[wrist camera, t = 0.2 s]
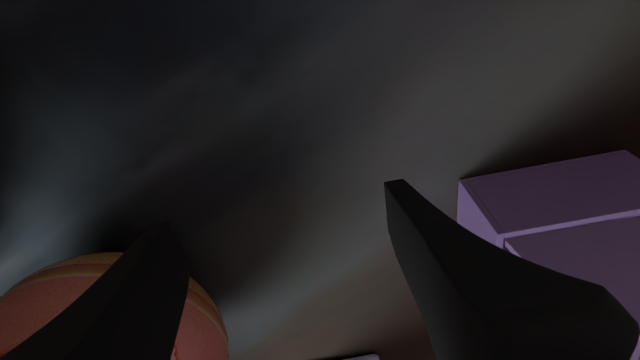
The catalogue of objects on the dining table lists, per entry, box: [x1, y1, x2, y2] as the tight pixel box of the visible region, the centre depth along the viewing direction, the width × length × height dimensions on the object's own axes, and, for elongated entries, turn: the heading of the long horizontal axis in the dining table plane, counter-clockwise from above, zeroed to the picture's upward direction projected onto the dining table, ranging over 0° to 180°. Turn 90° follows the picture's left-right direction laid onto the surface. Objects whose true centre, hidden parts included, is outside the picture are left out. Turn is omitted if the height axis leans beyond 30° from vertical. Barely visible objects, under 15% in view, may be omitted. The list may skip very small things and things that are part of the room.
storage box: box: [457, 150, 640, 360], centre depth 26 cm, size 14×11×6 cm
